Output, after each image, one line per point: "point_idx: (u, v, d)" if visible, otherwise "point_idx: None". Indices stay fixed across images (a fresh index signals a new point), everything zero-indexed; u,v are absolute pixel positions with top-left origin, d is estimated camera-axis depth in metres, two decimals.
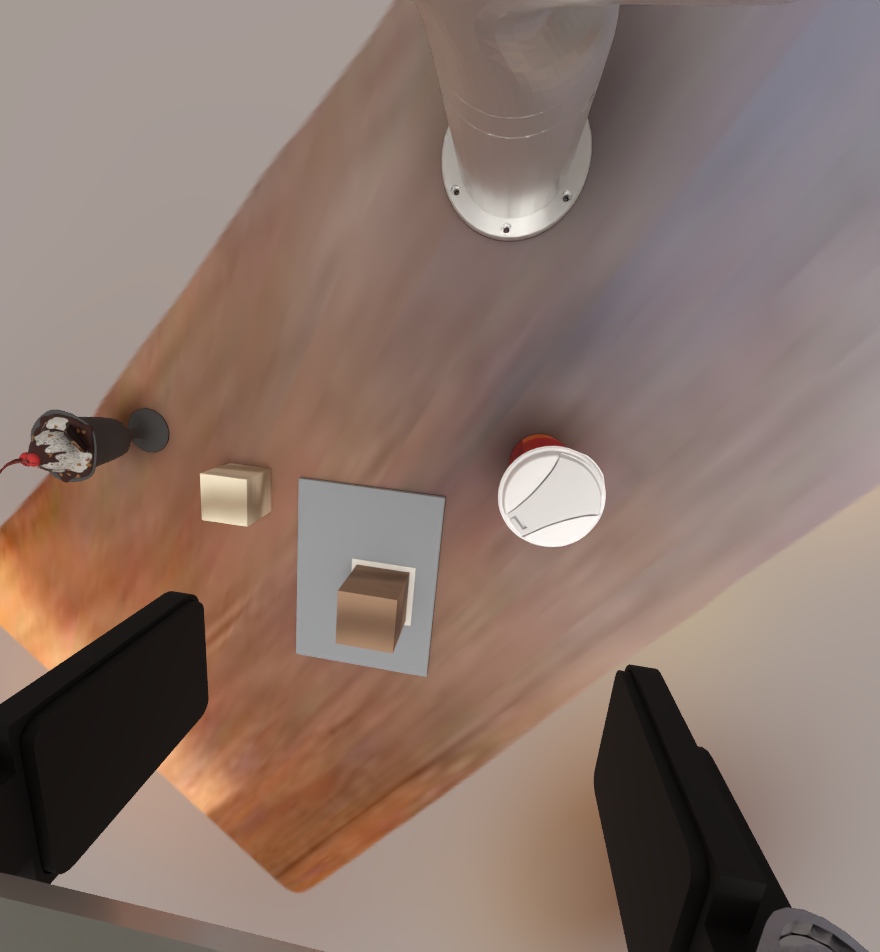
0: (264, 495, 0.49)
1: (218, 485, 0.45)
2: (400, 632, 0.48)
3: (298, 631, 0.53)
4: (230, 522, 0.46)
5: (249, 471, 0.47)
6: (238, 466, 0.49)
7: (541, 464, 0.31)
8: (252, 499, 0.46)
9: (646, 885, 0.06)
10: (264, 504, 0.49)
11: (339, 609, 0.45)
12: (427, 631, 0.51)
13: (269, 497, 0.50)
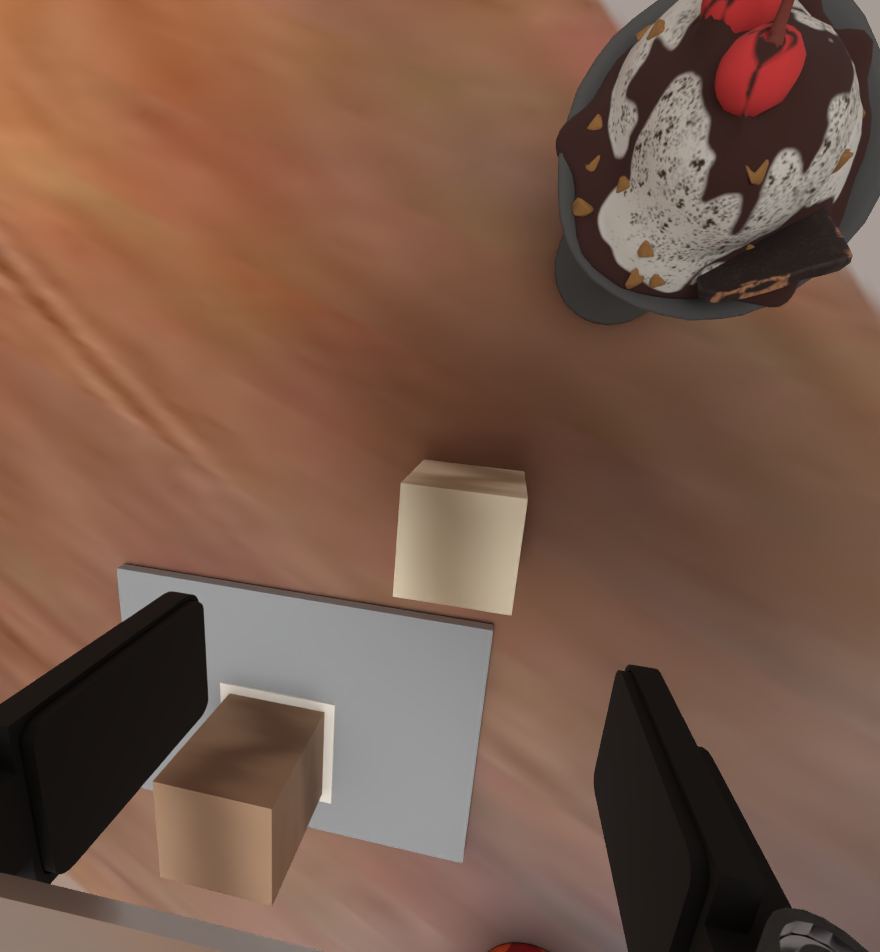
0: None
1: (495, 543, 0.18)
2: None
3: (165, 580, 0.26)
4: (399, 557, 0.19)
5: None
6: None
7: None
8: None
9: (647, 885, 0.06)
10: None
11: (229, 803, 0.21)
12: None
13: None
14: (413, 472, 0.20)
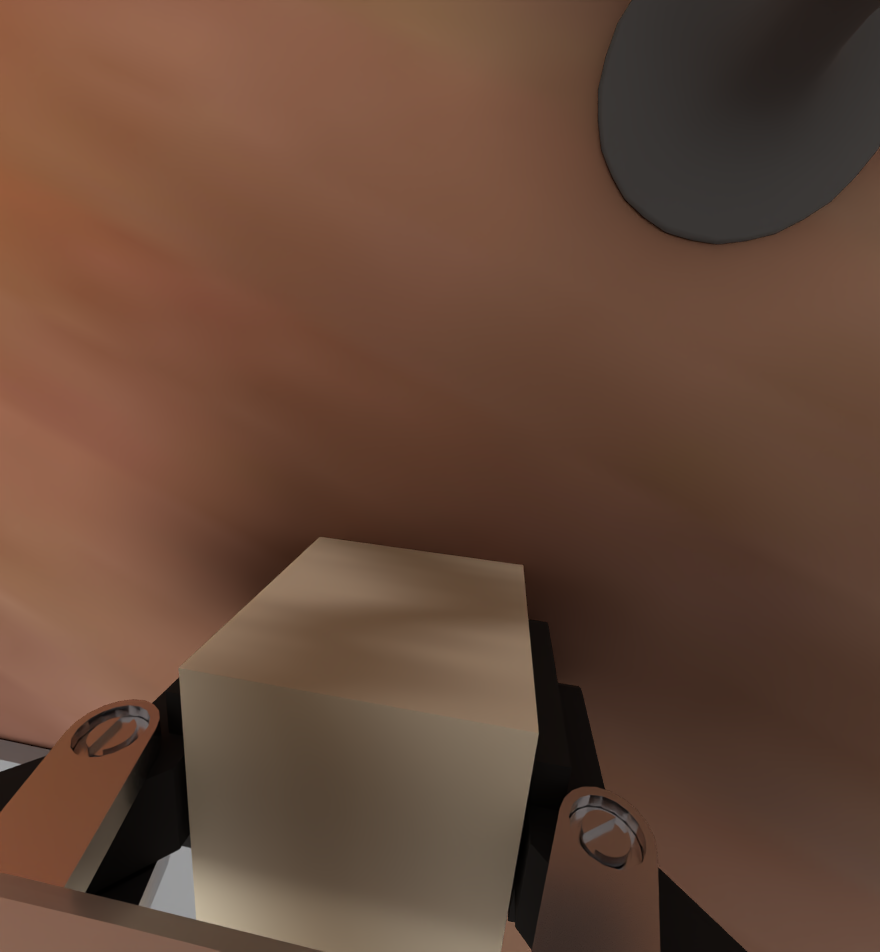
0: None
1: (446, 833, 0.06)
2: None
3: None
4: (200, 840, 0.07)
5: None
6: None
7: None
8: None
9: None
10: None
11: None
12: None
13: None
14: (258, 599, 0.08)
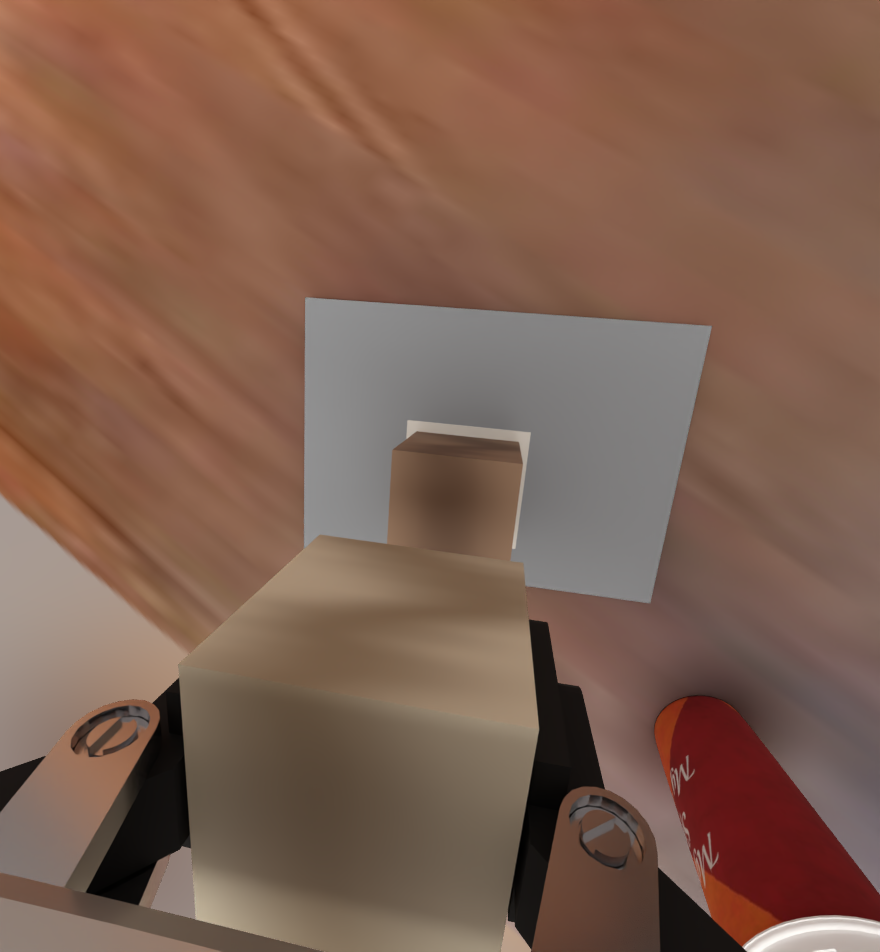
0: None
1: (446, 830, 0.06)
2: None
3: (357, 305, 0.25)
4: (200, 838, 0.07)
5: None
6: None
7: None
8: None
9: None
10: None
11: (476, 463, 0.20)
12: None
13: None
14: (258, 596, 0.08)
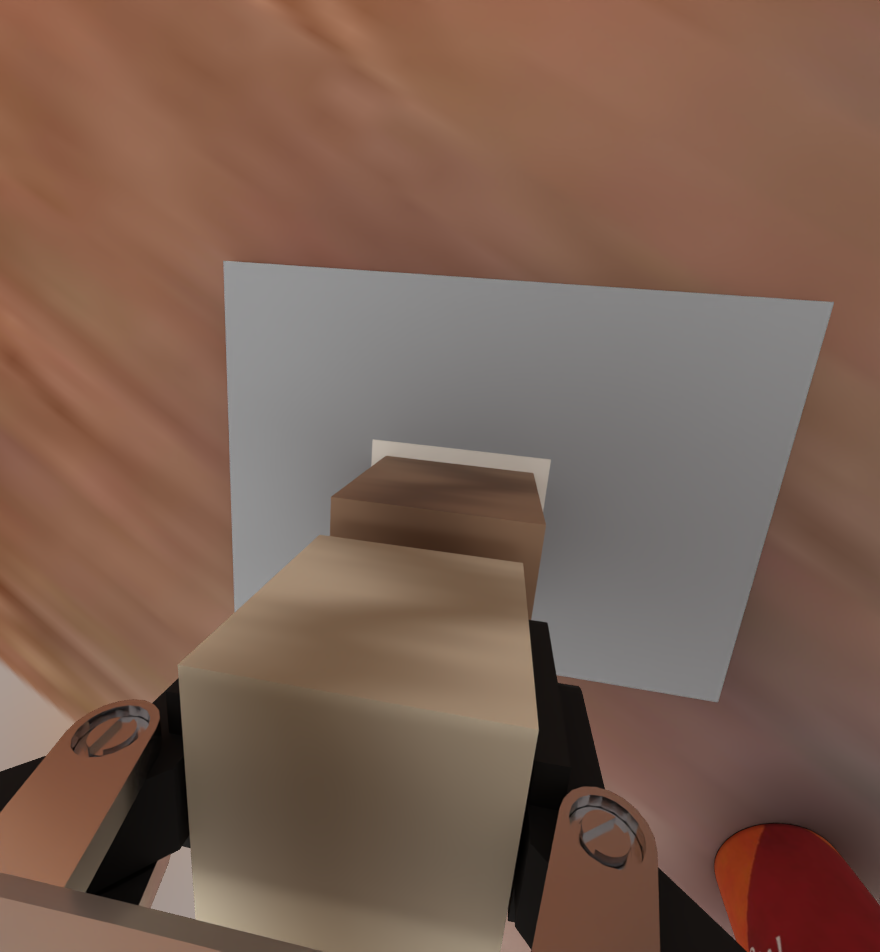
0: None
1: (446, 831, 0.06)
2: None
3: (298, 272, 0.17)
4: (200, 838, 0.07)
5: None
6: None
7: None
8: None
9: None
10: None
11: (468, 522, 0.12)
12: None
13: None
14: (258, 596, 0.08)
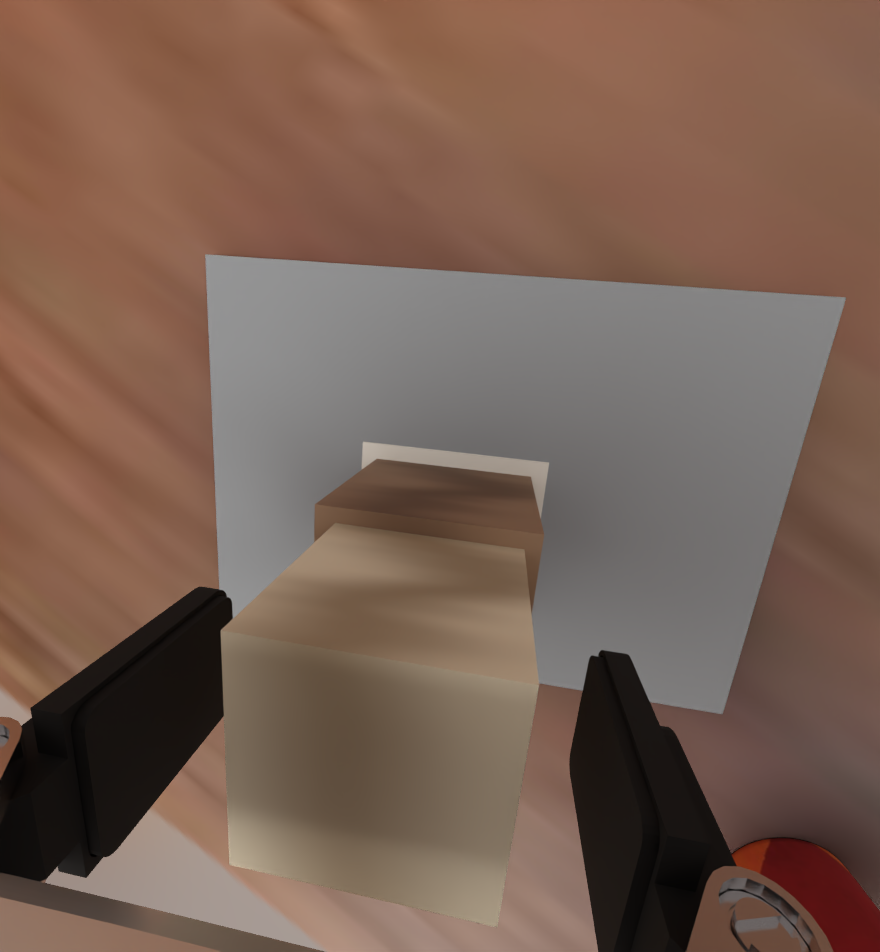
0: None
1: (457, 778, 0.07)
2: None
3: (284, 267, 0.16)
4: (235, 788, 0.08)
5: None
6: None
7: None
8: None
9: (608, 853, 0.07)
10: None
11: (461, 531, 0.11)
12: None
13: None
14: (284, 575, 0.09)
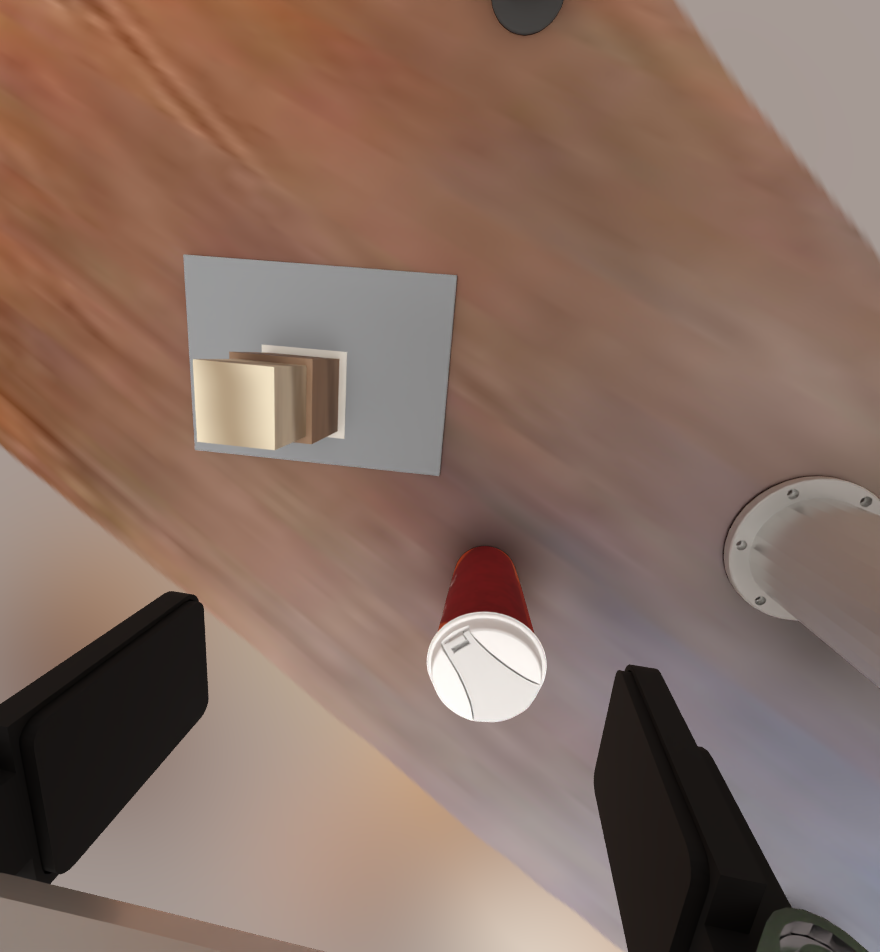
0: None
1: (258, 399, 0.27)
2: None
3: (220, 260, 0.36)
4: (198, 412, 0.27)
5: (293, 423, 0.30)
6: (301, 390, 0.31)
7: (531, 667, 0.27)
8: None
9: (646, 885, 0.06)
10: None
11: (283, 359, 0.31)
12: (259, 452, 0.40)
13: None
14: (213, 359, 0.28)
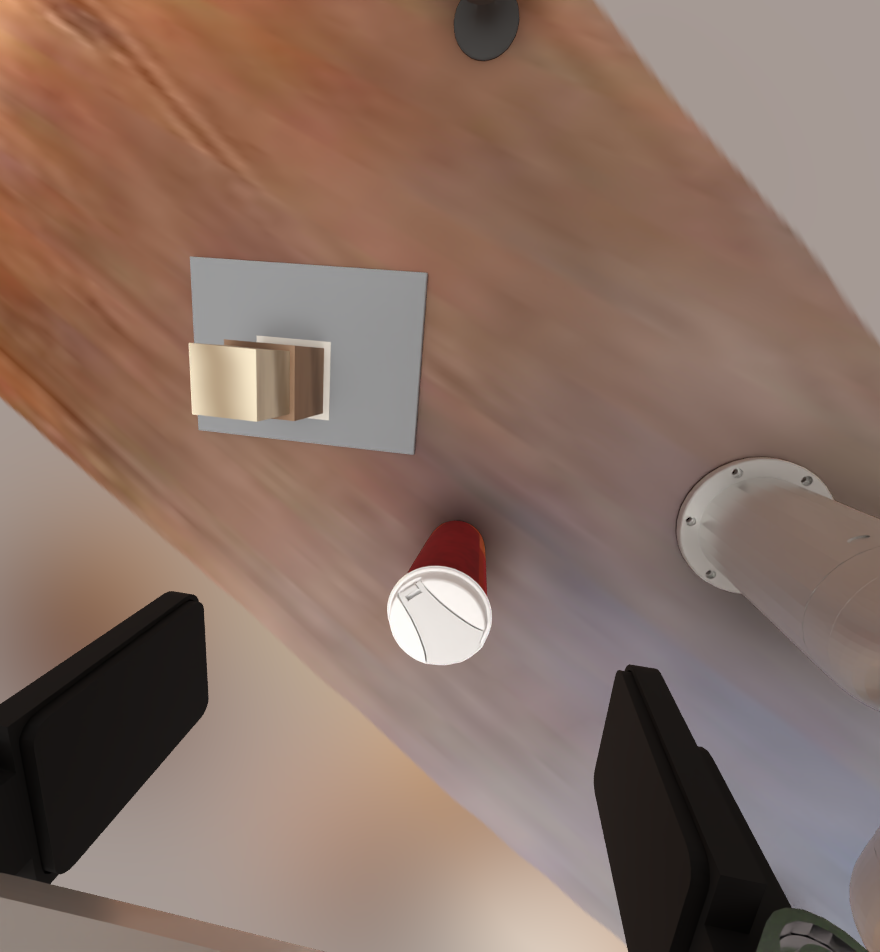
0: None
1: (242, 376, 0.31)
2: None
3: (221, 261, 0.41)
4: (193, 388, 0.32)
5: (276, 400, 0.34)
6: (284, 372, 0.35)
7: (475, 615, 0.31)
8: None
9: (647, 885, 0.06)
10: None
11: (270, 346, 0.36)
12: (254, 432, 0.44)
13: None
14: None
